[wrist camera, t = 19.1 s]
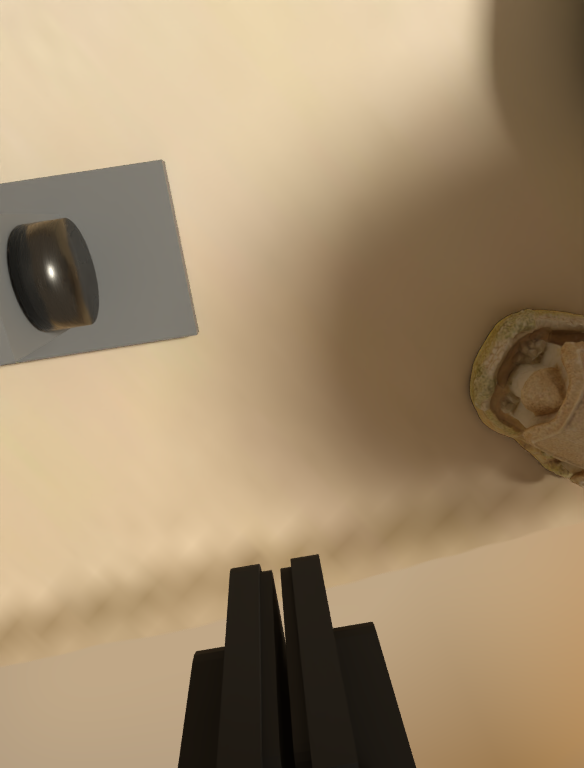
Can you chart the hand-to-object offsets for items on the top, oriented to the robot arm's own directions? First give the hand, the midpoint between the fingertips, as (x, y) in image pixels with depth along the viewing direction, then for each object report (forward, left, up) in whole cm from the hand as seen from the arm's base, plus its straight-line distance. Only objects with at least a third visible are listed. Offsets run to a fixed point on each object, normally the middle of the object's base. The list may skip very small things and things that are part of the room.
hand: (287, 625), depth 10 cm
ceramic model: (+20, -7, -26) cm, 33 cm away
